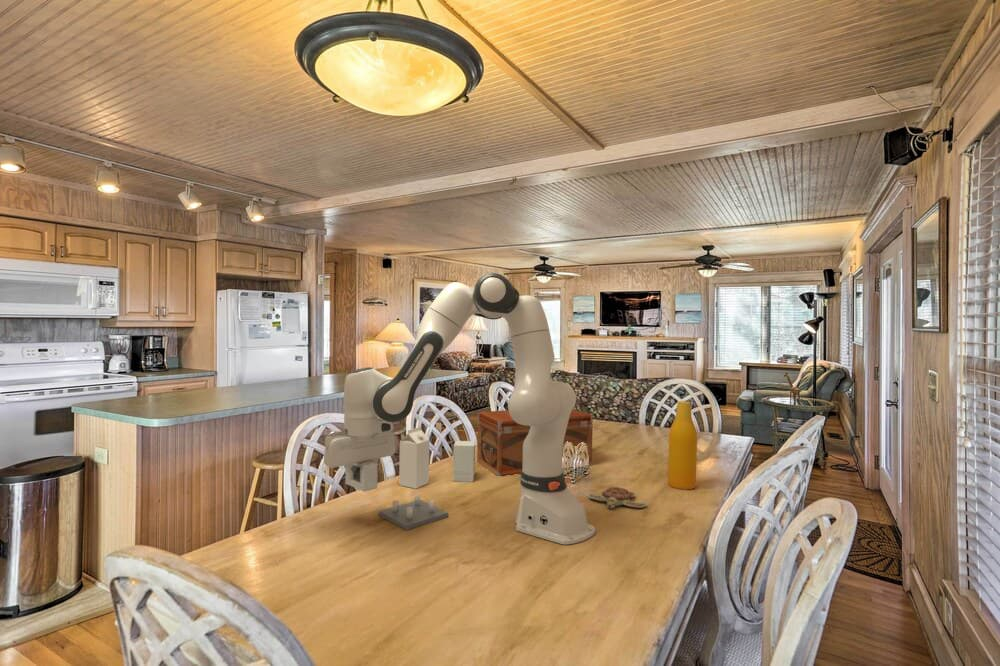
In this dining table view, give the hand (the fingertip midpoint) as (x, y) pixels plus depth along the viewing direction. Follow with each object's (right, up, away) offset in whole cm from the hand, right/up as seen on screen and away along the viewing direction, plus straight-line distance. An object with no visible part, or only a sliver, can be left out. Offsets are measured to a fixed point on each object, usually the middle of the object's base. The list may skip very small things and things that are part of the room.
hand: (361, 477), depth 141 cm
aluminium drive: (0, -2, 0) cm, 2 cm away
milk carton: (+9, -12, +33) cm, 36 cm away
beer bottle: (+101, -14, +37) cm, 108 cm away
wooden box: (+51, -12, +60) cm, 80 cm away
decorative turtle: (+74, -14, +20) cm, 78 cm away
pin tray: (+13, -12, +5) cm, 19 cm away
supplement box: (+25, -12, +40) cm, 49 cm away
